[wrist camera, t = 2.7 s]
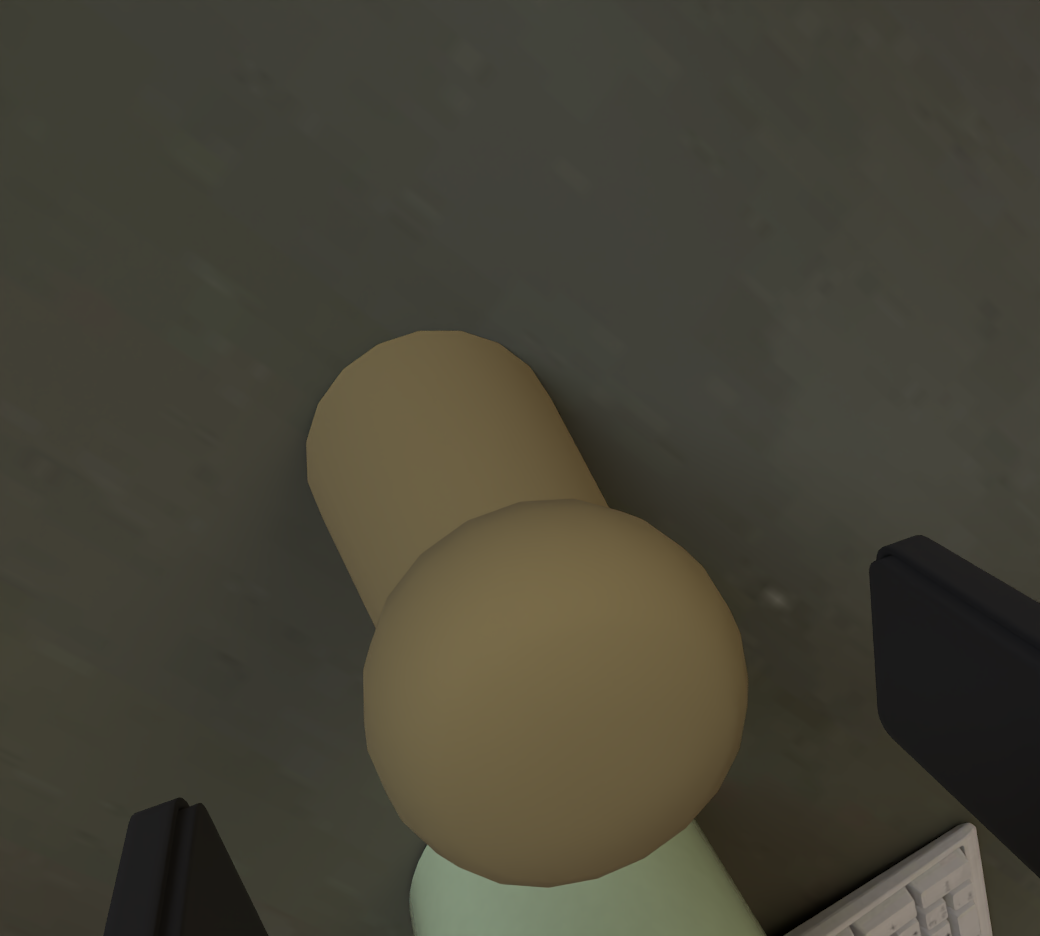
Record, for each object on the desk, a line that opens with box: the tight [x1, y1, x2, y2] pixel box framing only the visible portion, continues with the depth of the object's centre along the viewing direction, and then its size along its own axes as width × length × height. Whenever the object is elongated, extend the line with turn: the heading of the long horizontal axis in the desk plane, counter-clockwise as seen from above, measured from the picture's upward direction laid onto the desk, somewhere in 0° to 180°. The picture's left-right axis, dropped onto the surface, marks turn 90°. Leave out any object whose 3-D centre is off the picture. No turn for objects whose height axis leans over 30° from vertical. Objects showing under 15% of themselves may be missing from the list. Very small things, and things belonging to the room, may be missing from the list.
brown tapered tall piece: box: [306, 331, 748, 888], centre depth 15 cm, size 6×6×11 cm
